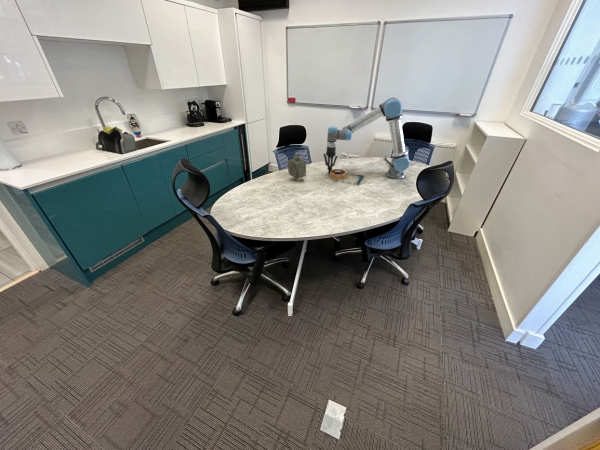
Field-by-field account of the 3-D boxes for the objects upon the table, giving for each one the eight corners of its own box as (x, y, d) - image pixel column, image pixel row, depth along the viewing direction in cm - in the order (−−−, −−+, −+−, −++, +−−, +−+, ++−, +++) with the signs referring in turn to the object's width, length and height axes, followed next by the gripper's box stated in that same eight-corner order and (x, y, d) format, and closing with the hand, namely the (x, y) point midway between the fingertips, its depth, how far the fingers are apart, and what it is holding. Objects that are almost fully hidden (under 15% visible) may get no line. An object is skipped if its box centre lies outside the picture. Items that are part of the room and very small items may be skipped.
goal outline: (340, 172, 225) (340, 172, 225) (363, 176, 217) (363, 175, 217) (333, 180, 208) (333, 180, 208) (358, 185, 201) (358, 184, 201)
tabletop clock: (305, 181, 207) (306, 151, 193) (296, 184, 202) (296, 153, 189) (296, 176, 217) (296, 147, 203) (287, 178, 212) (286, 149, 199)
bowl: (332, 172, 224) (332, 168, 222) (347, 175, 219) (348, 170, 217) (327, 178, 213) (327, 173, 211) (343, 180, 208) (343, 175, 206)
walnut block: (335, 175, 218) (335, 170, 216) (340, 175, 217) (340, 170, 215) (334, 176, 214) (335, 171, 212) (340, 177, 214) (340, 172, 211)
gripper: (322, 146, 205) (321, 173, 217) (337, 148, 200) (335, 175, 213) (325, 144, 210) (323, 170, 223) (340, 146, 206) (337, 173, 219)
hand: (329, 173), depth 218 cm, fingers closed
